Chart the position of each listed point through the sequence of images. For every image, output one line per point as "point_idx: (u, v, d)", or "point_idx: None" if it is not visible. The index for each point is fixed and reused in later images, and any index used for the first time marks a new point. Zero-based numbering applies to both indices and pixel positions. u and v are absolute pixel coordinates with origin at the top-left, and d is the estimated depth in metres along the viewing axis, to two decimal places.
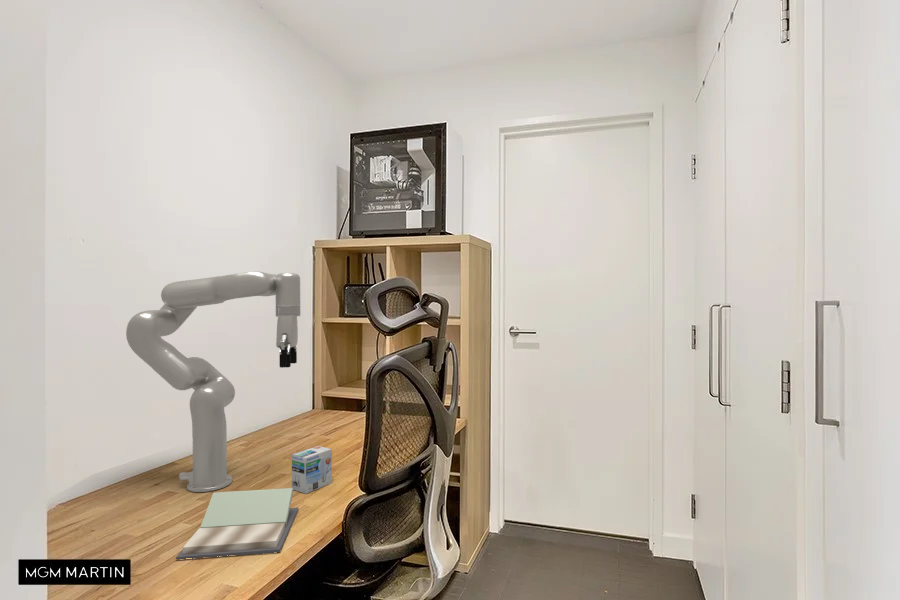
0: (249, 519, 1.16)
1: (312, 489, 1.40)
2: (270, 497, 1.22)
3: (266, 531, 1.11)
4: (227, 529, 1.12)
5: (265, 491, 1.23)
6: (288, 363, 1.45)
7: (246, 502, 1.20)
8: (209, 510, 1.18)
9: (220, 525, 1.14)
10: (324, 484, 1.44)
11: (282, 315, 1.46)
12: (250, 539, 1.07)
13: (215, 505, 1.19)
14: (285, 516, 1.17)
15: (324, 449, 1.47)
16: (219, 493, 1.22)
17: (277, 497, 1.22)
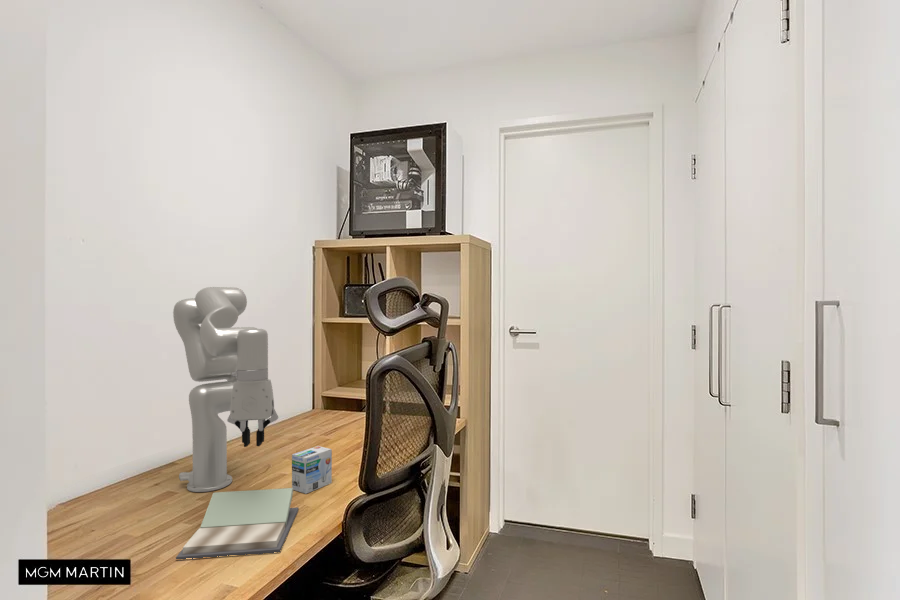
0: (249, 519, 1.16)
1: (312, 489, 1.40)
2: (270, 497, 1.22)
3: (266, 531, 1.11)
4: (227, 529, 1.12)
5: (265, 491, 1.23)
6: None
7: (246, 502, 1.20)
8: (209, 510, 1.18)
9: (220, 525, 1.14)
10: (324, 484, 1.44)
11: (266, 379, 1.23)
12: (250, 539, 1.07)
13: (215, 505, 1.19)
14: (285, 516, 1.17)
15: (324, 449, 1.47)
16: (219, 493, 1.22)
17: (277, 497, 1.22)
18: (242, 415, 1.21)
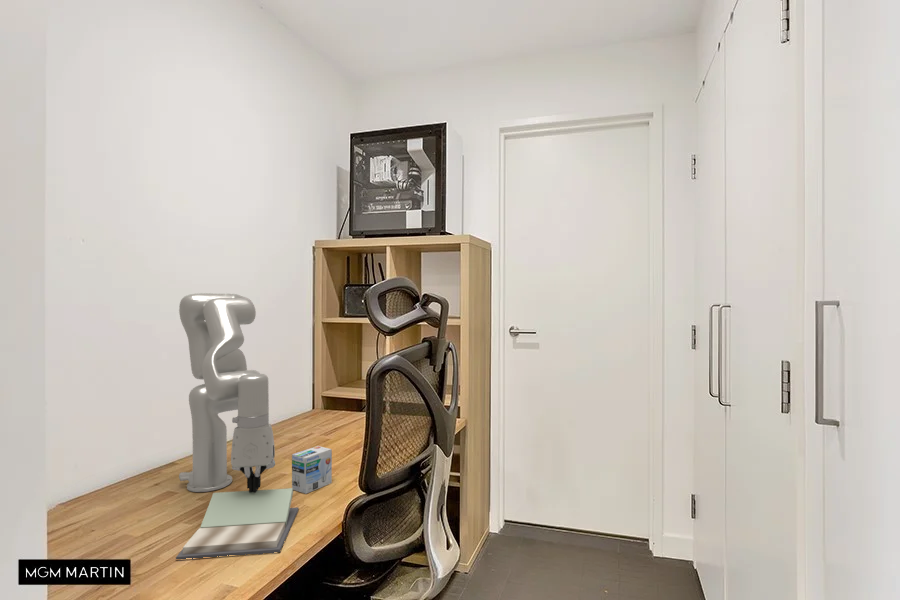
0: (249, 519, 1.16)
1: (312, 489, 1.40)
2: (270, 497, 1.22)
3: (266, 531, 1.11)
4: (227, 529, 1.12)
5: (265, 491, 1.23)
6: None
7: (246, 502, 1.20)
8: (209, 510, 1.18)
9: (220, 525, 1.14)
10: (324, 484, 1.44)
11: (266, 425, 1.23)
12: (250, 539, 1.07)
13: (215, 505, 1.19)
14: (285, 516, 1.17)
15: (324, 449, 1.47)
16: (219, 493, 1.22)
17: (277, 498, 1.22)
18: (243, 462, 1.21)
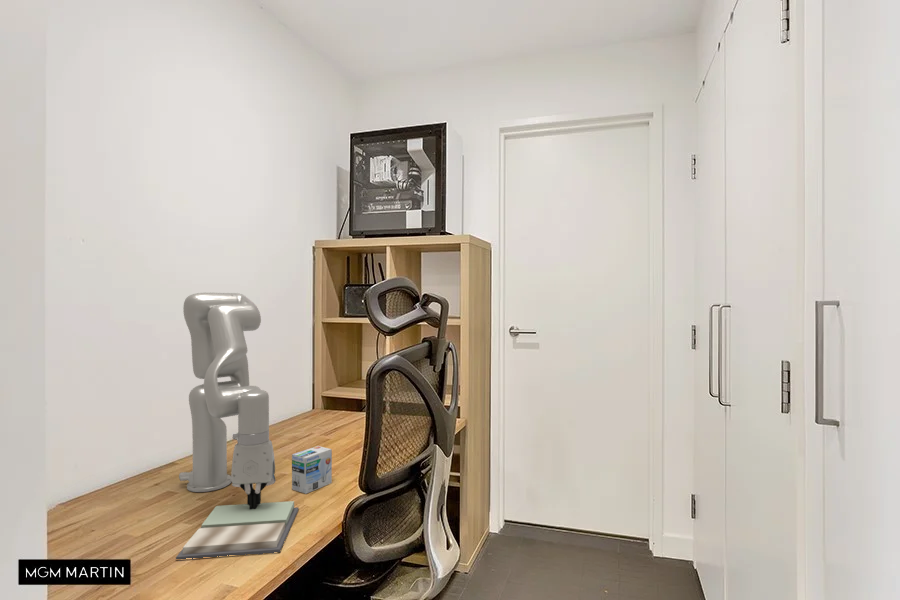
0: (250, 519, 1.17)
1: (312, 489, 1.40)
2: (272, 506, 1.23)
3: (266, 531, 1.11)
4: (227, 529, 1.12)
5: (267, 503, 1.25)
6: None
7: (248, 510, 1.22)
8: (211, 515, 1.19)
9: (221, 523, 1.15)
10: (324, 484, 1.44)
11: (267, 442, 1.23)
12: (250, 539, 1.07)
13: (217, 512, 1.20)
14: (286, 516, 1.18)
15: (324, 449, 1.47)
16: (222, 506, 1.24)
17: (279, 506, 1.23)
18: (243, 479, 1.21)
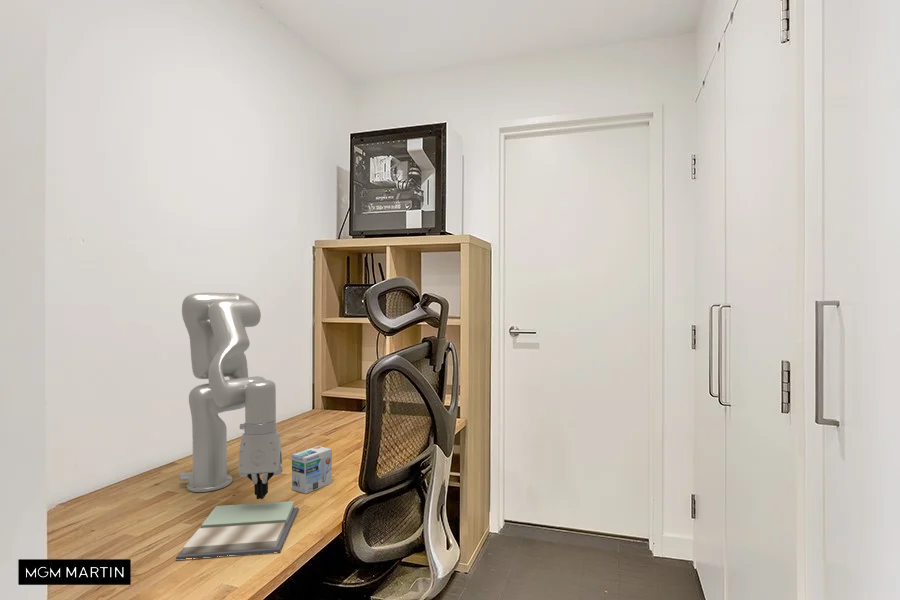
0: (250, 519, 1.17)
1: (312, 489, 1.40)
2: (272, 506, 1.23)
3: (266, 531, 1.11)
4: (227, 529, 1.12)
5: (267, 503, 1.25)
6: None
7: (248, 510, 1.22)
8: (211, 515, 1.19)
9: (221, 523, 1.15)
10: (324, 484, 1.44)
11: (274, 432, 1.23)
12: (250, 539, 1.07)
13: (217, 512, 1.20)
14: (286, 516, 1.18)
15: (324, 449, 1.47)
16: (222, 506, 1.24)
17: (279, 506, 1.23)
18: (250, 469, 1.21)
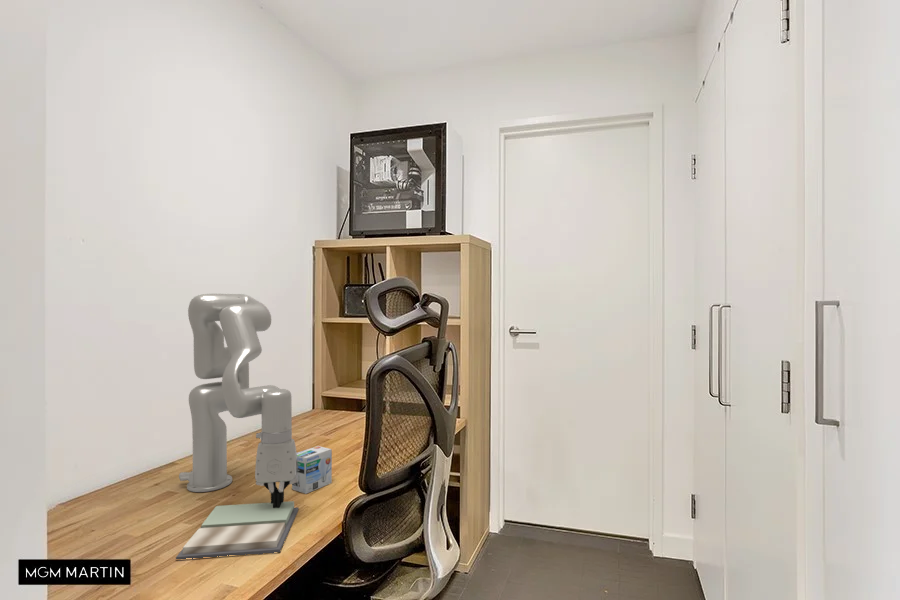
0: (250, 519, 1.17)
1: (312, 489, 1.40)
2: (272, 506, 1.23)
3: (266, 531, 1.11)
4: (227, 529, 1.12)
5: (267, 503, 1.25)
6: None
7: (248, 510, 1.22)
8: (211, 515, 1.19)
9: (221, 523, 1.15)
10: (324, 484, 1.44)
11: (290, 440, 1.24)
12: (250, 539, 1.07)
13: (217, 512, 1.20)
14: (286, 516, 1.18)
15: (324, 449, 1.47)
16: (222, 506, 1.24)
17: None
18: (267, 477, 1.21)
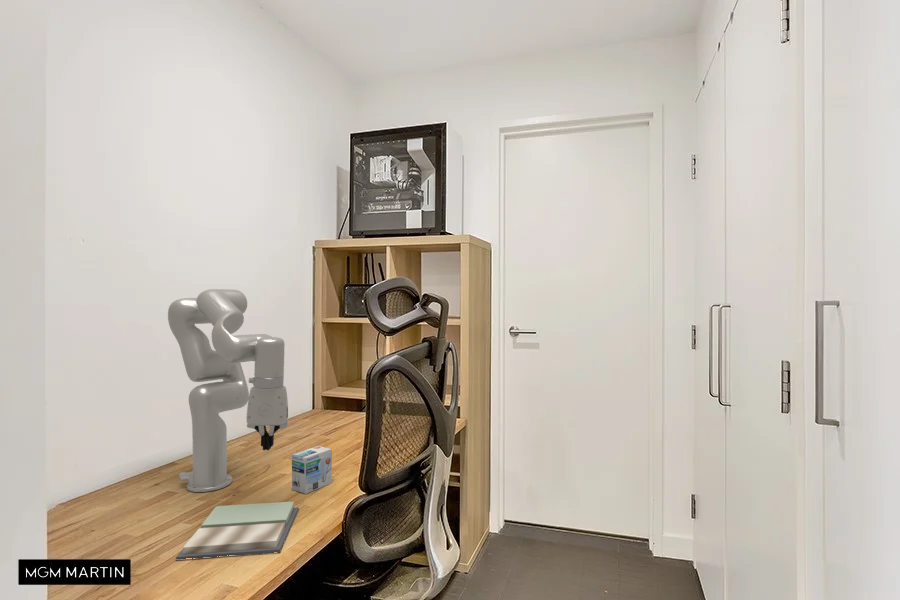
0: (250, 519, 1.17)
1: (312, 489, 1.40)
2: (272, 507, 1.23)
3: (266, 531, 1.11)
4: (227, 529, 1.12)
5: (267, 504, 1.25)
6: None
7: (248, 510, 1.22)
8: (211, 515, 1.19)
9: (221, 523, 1.15)
10: (324, 484, 1.44)
11: (281, 387, 1.28)
12: (250, 539, 1.07)
13: (217, 512, 1.20)
14: (286, 516, 1.18)
15: (324, 449, 1.47)
16: (222, 506, 1.24)
17: (279, 507, 1.23)
18: (257, 421, 1.25)
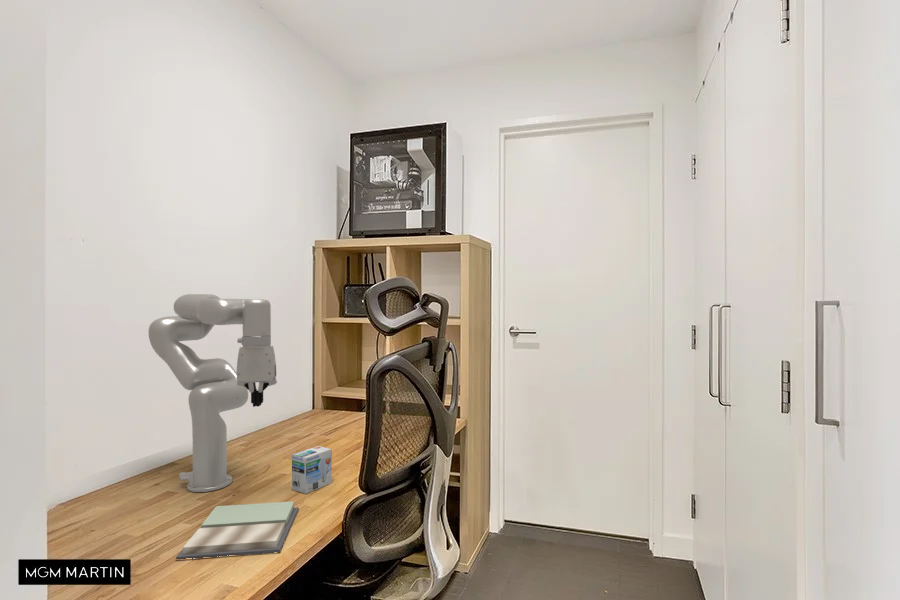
0: (250, 519, 1.17)
1: (312, 489, 1.40)
2: (272, 507, 1.23)
3: (266, 531, 1.11)
4: (227, 529, 1.12)
5: (267, 504, 1.25)
6: None
7: (248, 510, 1.22)
8: (211, 515, 1.19)
9: (221, 523, 1.15)
10: (324, 484, 1.44)
11: (269, 345, 1.34)
12: (250, 539, 1.07)
13: (217, 512, 1.20)
14: (286, 516, 1.18)
15: (324, 449, 1.47)
16: (222, 506, 1.24)
17: (279, 507, 1.23)
18: (247, 377, 1.32)
